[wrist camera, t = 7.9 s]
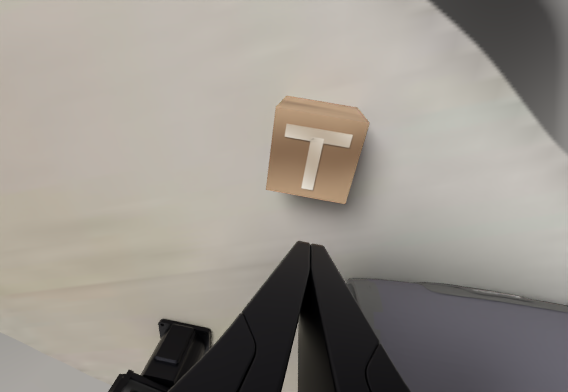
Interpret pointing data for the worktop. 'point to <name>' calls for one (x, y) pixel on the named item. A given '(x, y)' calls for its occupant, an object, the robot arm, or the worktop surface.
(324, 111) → the letter block
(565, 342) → the bluetooth speaker
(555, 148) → the worktop surface
